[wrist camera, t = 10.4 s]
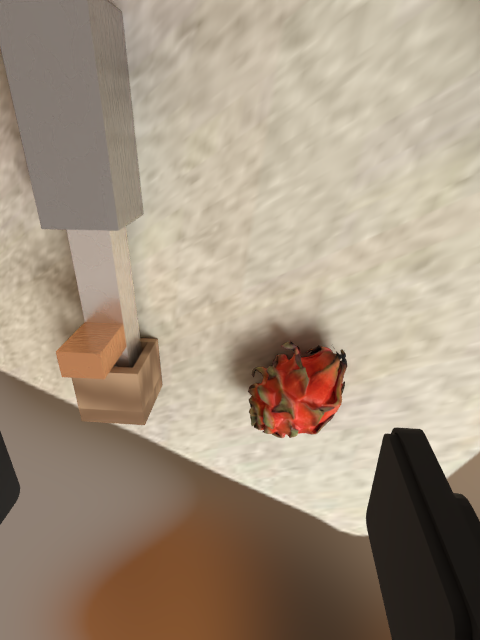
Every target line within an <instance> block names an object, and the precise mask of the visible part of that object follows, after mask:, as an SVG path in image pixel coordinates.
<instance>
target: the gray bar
mask: <svg viewBox="0 0 480 640" xmlns="http://www.w3.org/2000/svg"><path fill="white" fill-rule="evenodd" d="M67 235H68V240H69V245H70V250H71V255H72V260H73V265H74V270H75V275H76V280H77V285H78V290H79V295H80V300H81V305H82V311H83V316H84V321H85V323H84V324H83V325H82V326H81V327H80V328H79V329H78V330H77V331H76V332H75V333H74V334H73V335H72V336H71V337H70V338H69V339H68V340H67V341H66V342H65V343H64V344H63V345H62V346H61V347H60V348H59V349H58V350H57V351H56V355H57V359H58V363H59V367H60V371H61V375H62V377H72V378H91V379H105V378H106V376H107V375H108V374H109V372H110V371H111V369H112V368H113V367H130V368H133V367H134V365H135V363H136V362H137V360H138V358H139V356H140V355H141V353H142V349H141V341H140V333H139V325H138V318H137V310H136V302H135V294H134V287H133V279H132V271H131V263H130V255H129V248H128V240H127V232H126V226H125V227H124V228H122V229H121V230H119V231H105V230H67Z"/></svg>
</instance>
